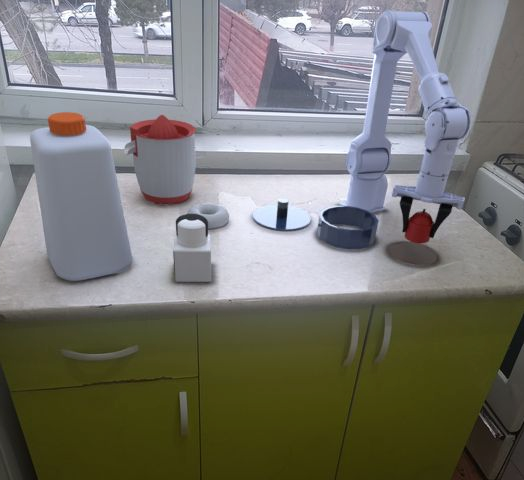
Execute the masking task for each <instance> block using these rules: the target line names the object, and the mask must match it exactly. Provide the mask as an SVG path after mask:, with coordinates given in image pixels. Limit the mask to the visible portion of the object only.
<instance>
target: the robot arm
mask: <svg viewBox="0 0 524 480" xmlns="http://www.w3.org/2000/svg"><path fill="white" fill-rule="evenodd" d="M432 32H433V24H432V22H431V17H430V14H429V13H428V12H427V11H424V10H423V11H401V10H400V11H399V10H398V11H397V10H391V9H386V10H384V11H383V12H382V13H381V14H380V15H379V17H378V19H376V21H375V26H374V33H373V40H372V47H371V54H374V56H373V63H372V68H371V76H370V82H369V89H368V97H367V102H366V110H365V116H364V122H363V128H362V129H363V130H362V133H360V134H359V135H357V136H356V137H354V138H353V139H352V140H351V141H350V146H349V149H348V152H347V155H346V158H345V165H346V169H347V171H348V173H349V174H350V181H349V184H348V192H347V198H346V201H342V202H341V201H340V202H339V203H338V204H339V205H340V206H351V207H358V208H361V209H364V210H367V211H369V212H370V213H374V212H379V211H384V210H386V208H385V200H386V196H387V191H388V186H389V184H388V183H389V182H388V178H387V176H386V174H385V173H387V172H388V170H389V169H390V167H391V164H392V145H393V144H392V142H391V141H390V140H389V138H387V136H386V130H387V125H388V118H389V112H390V107H391V100H392V96H393V91H394V90H393V89H394V84H395V78H396V72H397V65H398V62H399V61H400V60H401V59H402V58H403V57H404V56H405V55H408V57H409V59H410V61H411V63H412V65H413V67H414V69H415V72H416V73H417V75H418V77H419V80H420V84H419V85H418V88H417V92H418V95H419V97H420V100H421V103H422V107H423V109H424V111H425V114H426V117H427V119H426V120H425V122H424V133H425V139H424V143H423V144H424V147H425V149H424V154H423V158H422V162H421V165H420V169H419V172H418V177H417V181H416V185H415V186H413V185H412V186H411V185H410V186H409V185H399V184H394V186H393V188H392V192H391V198H398V197H399V198H400V201H399V206H400V211H401V215H402V216H401V217H402V230H401V232H402V233H405V232H406V229H407V224H408V220H409V218H410V214H411V209H412V206H413V201H418V202H419V201H421V202H422V203H426V204H436V205H439V207H438V210H437V214H436V217H435V221H434V226H433V229H432V232H431V235H430V239H434V237H435V235H436V233H437V231H438V229H439V228H440V227H441V225H442V224H443V222H444V221H445V220H446V219H447V218H448V217H449V216H450V215H451V214H452V211H453V208H456V209H457V210H463V207H464V203H465V197H464V196H459V195H457V194H453V193H450V192H447V191H445V189H446V185H447V182H448V180H449V179H448V178H449V175H450V172H451V169H452V165H453V162H454V158H455V155H456V151H457V148H458V144H459V141H460V140H462V139H464V138H465V137H466V136H467V134H468V132H469V130H470V128H471V127H470V126H471V115H470V111H469V109H468V108H467V107H465V106H464V105H462V104H461V102H458V101H457V98H456V96H455V94H454V91H453V88H452V86H451V85H452V84H451V83H450V79H449V77H448V75H447V74H446V73H444V72H439V68H438V65H437V61H436V57H435V53H434V50H433V47H432V46H433V45H432V43H431V36H432Z"/></svg>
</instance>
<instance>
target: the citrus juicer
mask: <svg viewBox="0 0 524 480" xmlns="http://www.w3.org/2000/svg"><path fill="white" fill-rule="evenodd" d="M129 130H130V141H129V142H128V143H126V144H125V145H124V150H123V153H124V155H126V156H127V155H132V159H133V168H134V174H135V178H136V180H137V183H138V186H139V190H140V192H141V194H142V196H143V197H144V199H145V200H146V201H147V202H150V203H153V204H155V205H174V204H179V203H182V202H183V203H184V202H186V201H187V200H188V199H189V198H190V196H191V194H192V192H193V187H194V183H195V176H196V134H195V133H197V129H196V127H195V126H194V125H192V124H191V123H188V122H185V121H181V120H177V119H176V120H175V119H169V118H168V117H167V116H165V115H164V114H160V115H159V116H158V117H156V119H146V120H141V121H138V122H135V123H133V124H131V125H130V126H129Z"/></svg>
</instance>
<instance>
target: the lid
mask: <svg viewBox="0 0 524 480" xmlns="http://www.w3.org/2000/svg"><path fill="white" fill-rule="evenodd" d="M289 202H290V201H289V199H288V198H278V199H277V204H276V203H275V204H267V205H262V206H260V207H257V208H256V209H255V210H254V211H253V213H252V219H253V221H254V222H255V223H256V224H257V225H258V226H261V227H263V228H265V229H269V230H273V231H277V232H294V231H299V230H303V229H304V228H307V227H308V226H309V225H310V224H311V222H312V218H311V215H310V214H309V213H308V211H306V210H304V209H302V208H300V207H297V206H294V205H290V203H289Z"/></svg>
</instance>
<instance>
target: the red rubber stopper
mask: <svg viewBox="0 0 524 480" xmlns="http://www.w3.org/2000/svg"><path fill="white" fill-rule="evenodd" d="M426 210H427V209H426V208H423V209H422V210H419V211H416V212H415V213H413V214H412V215H411V216H409V220H408V224H407V229H406V232H404V238H405V239H406V241H409V242H414V243H420V244H427V243H429V241H430V239H431V238H430V235H431V232H432V229H433V226H434V223H435V221H434V220H433V217H432V215H431V214H430V213H429V212H427V211H426Z"/></svg>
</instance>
